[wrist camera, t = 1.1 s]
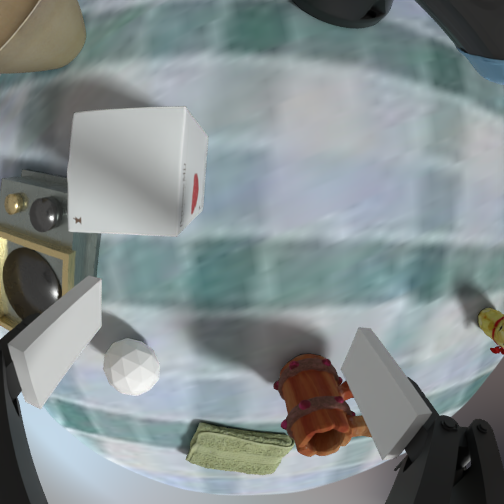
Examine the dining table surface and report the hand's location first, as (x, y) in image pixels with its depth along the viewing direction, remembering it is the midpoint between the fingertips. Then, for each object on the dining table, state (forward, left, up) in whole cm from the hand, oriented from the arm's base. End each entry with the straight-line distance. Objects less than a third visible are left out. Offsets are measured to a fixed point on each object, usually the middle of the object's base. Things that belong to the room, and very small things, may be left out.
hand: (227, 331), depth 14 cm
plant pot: (-21, -30, -21) cm, 42 cm away
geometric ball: (+19, -9, -21) cm, 30 cm away
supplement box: (-6, -9, -21) cm, 24 cm away
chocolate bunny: (+3, +49, -21) cm, 53 cm away
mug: (+15, +17, -21) cm, 31 cm away
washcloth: (+37, +10, -22) cm, 44 cm away
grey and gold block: (+8, -24, -21) cm, 33 cm away
